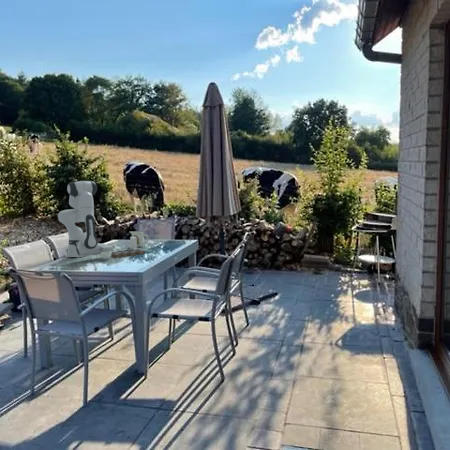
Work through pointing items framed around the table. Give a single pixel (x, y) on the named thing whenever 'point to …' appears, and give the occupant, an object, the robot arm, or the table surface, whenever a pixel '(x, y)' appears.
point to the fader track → (127, 253)
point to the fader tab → (133, 243)
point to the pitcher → (139, 237)
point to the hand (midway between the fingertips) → (114, 246)
